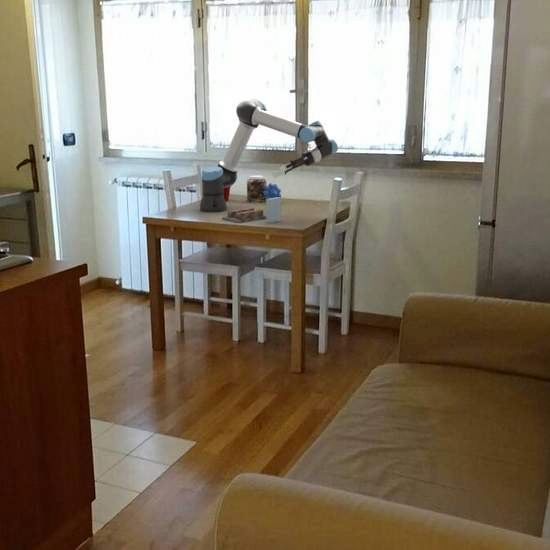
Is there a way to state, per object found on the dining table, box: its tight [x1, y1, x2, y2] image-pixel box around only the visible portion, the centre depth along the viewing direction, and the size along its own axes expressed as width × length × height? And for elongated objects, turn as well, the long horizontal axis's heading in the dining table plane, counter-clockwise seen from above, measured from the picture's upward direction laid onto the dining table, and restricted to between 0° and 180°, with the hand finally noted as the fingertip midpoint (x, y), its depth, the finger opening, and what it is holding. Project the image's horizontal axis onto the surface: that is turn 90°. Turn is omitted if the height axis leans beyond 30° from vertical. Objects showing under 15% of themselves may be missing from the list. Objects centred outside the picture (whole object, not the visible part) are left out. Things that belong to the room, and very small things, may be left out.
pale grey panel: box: [265, 197, 282, 224], centre depth 365 cm, size 8×2×12 cm, turn 132°
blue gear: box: [264, 182, 282, 199], centre depth 419 cm, size 12×7×12 cm, turn 120°
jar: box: [246, 174, 267, 203], centre depth 427 cm, size 12×12×15 cm
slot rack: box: [221, 207, 266, 224], centre depth 374 cm, size 20×14×4 cm
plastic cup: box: [223, 186, 232, 202], centre depth 431 cm, size 11×11×12 cm
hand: (276, 173), depth 372 cm, fingers open, 13 cm apart
